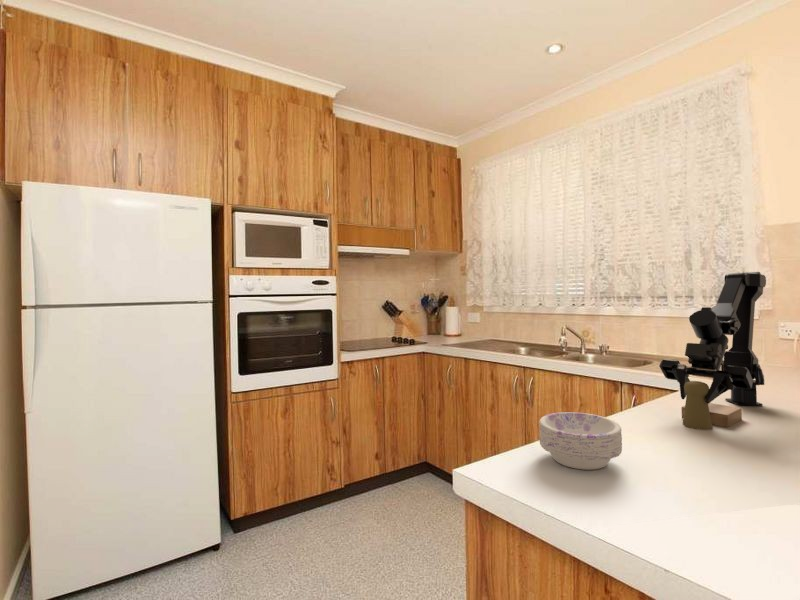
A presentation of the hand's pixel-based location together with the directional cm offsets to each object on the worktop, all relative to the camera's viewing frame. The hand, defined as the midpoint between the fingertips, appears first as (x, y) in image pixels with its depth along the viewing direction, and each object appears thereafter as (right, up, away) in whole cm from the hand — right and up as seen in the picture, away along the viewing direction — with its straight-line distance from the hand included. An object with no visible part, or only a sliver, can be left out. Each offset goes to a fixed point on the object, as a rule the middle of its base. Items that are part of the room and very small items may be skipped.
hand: (694, 400), depth 103 cm
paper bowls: (-37, -8, -19) cm, 42 cm away
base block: (+9, -6, +6) cm, 12 cm away
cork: (+1, -7, +1) cm, 7 cm away
